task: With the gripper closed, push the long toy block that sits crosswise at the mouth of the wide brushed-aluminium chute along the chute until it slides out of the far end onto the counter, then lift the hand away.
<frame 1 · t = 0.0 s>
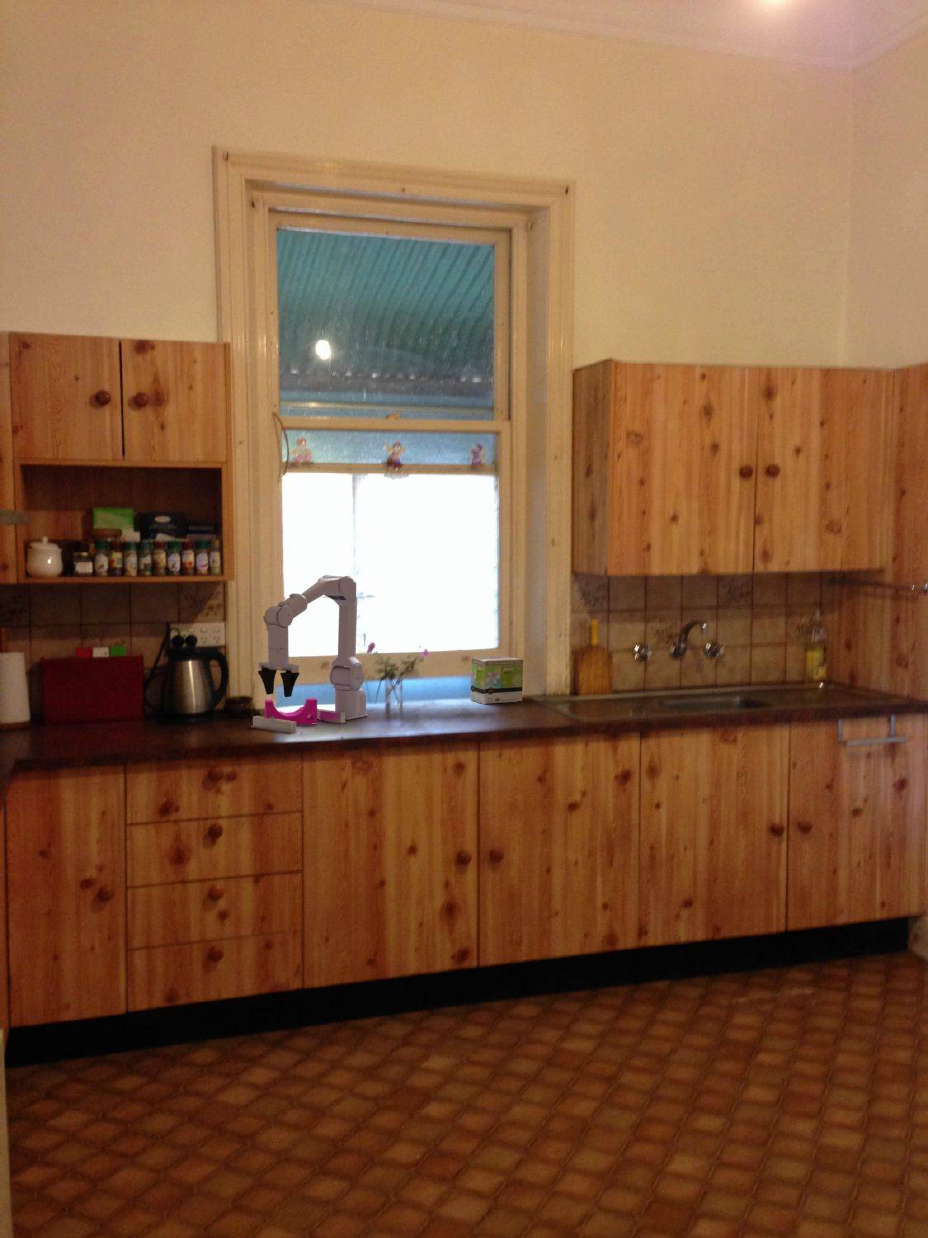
hand: (278, 695, 311), 10 cm above the countertop, tool pointing down, fingers open, 7 cm apart
toy block: (290, 724, 323), on the countertop
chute: (299, 724, 321), on the countertop
tea box: (496, 702, 367), on the countertop
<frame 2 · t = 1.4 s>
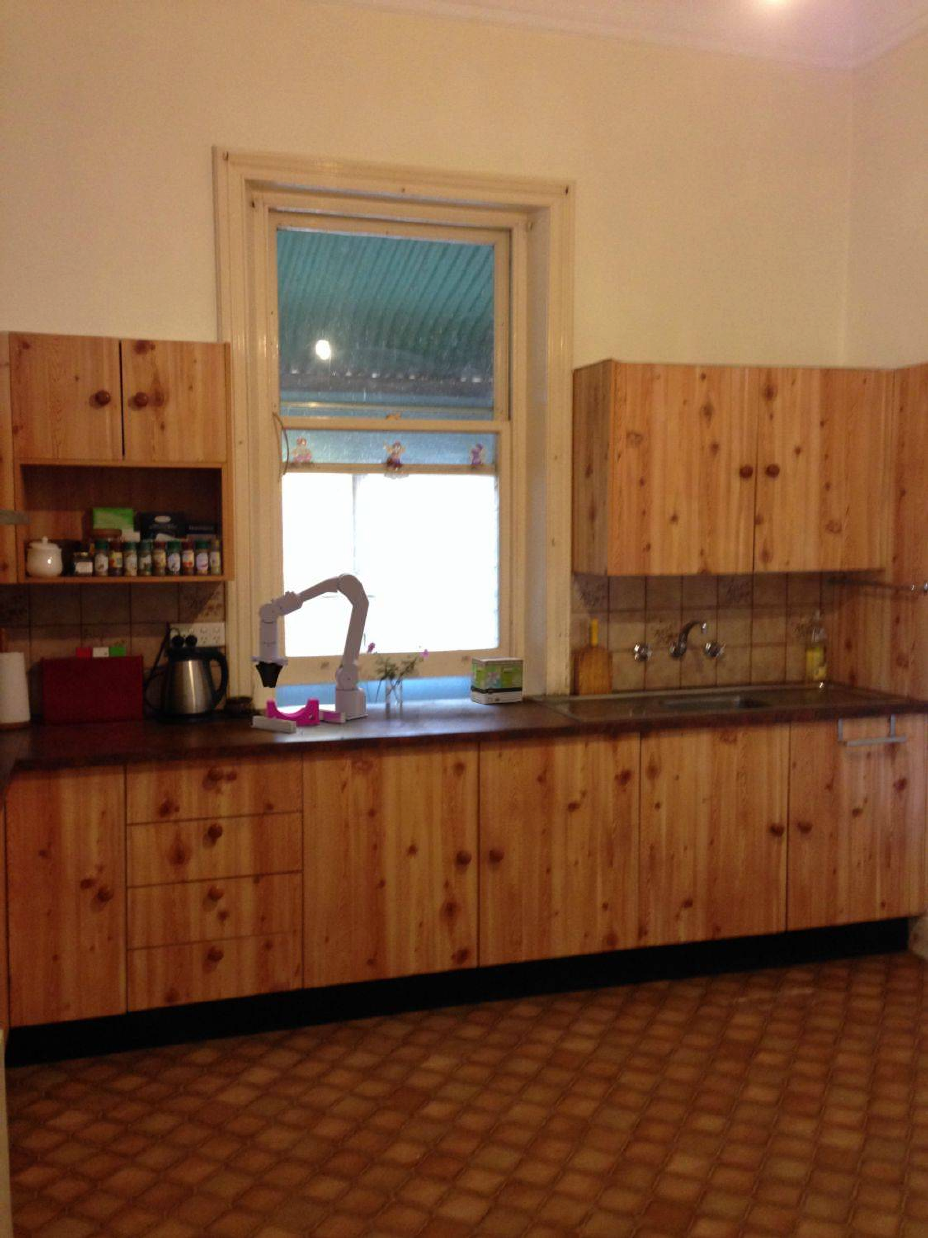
hand: (269, 687, 328), 10 cm above the countertop, tool pointing down, fingers closed
toy block: (292, 725, 322), on the countertop
everything else where it was.
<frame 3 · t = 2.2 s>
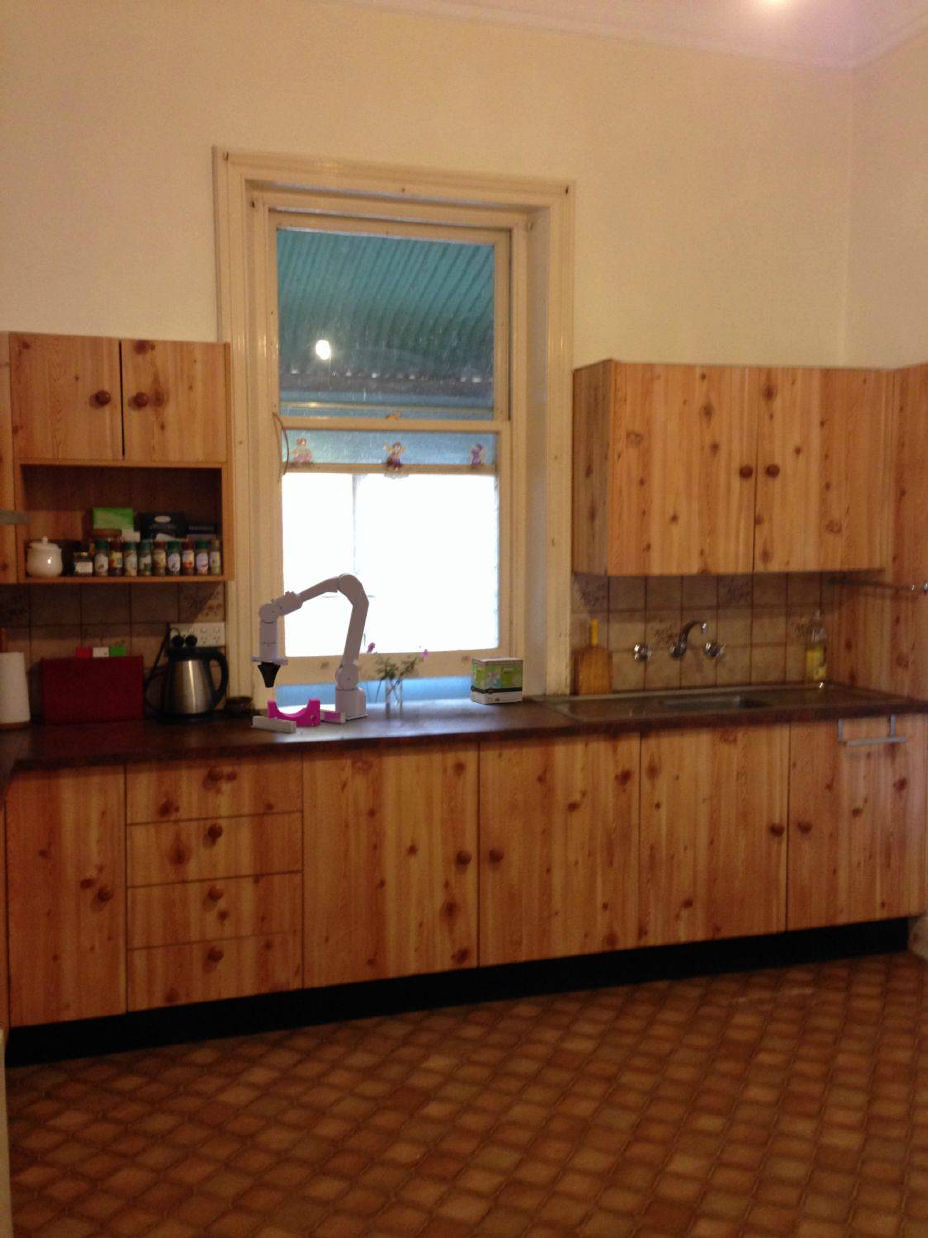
hand: (269, 687, 328), 10 cm above the countertop, tool pointing down, fingers closed
nothing on the countertop moved.
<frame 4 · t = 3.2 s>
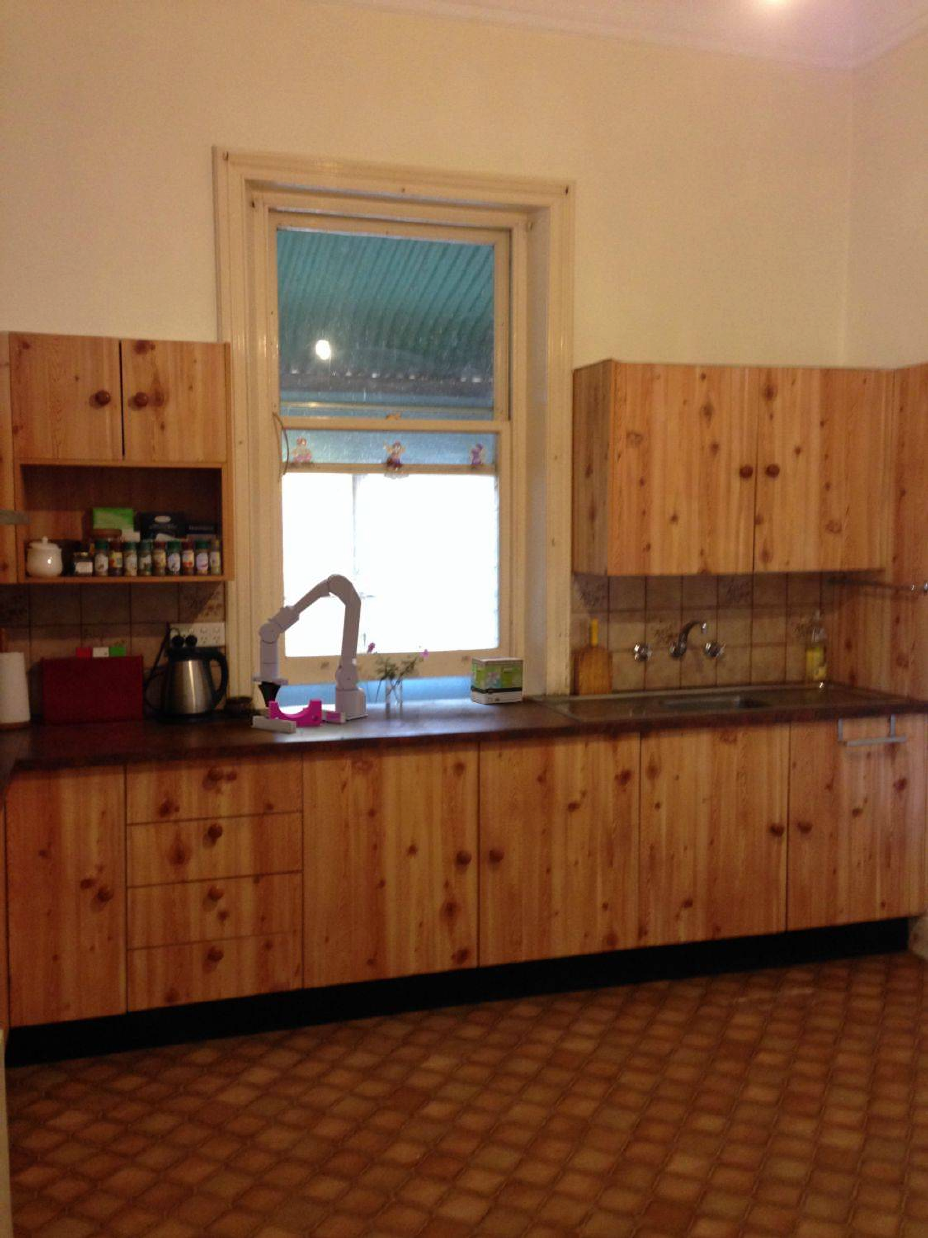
hand: (269, 707, 329), 4 cm above the countertop, tool pointing down, fingers closed
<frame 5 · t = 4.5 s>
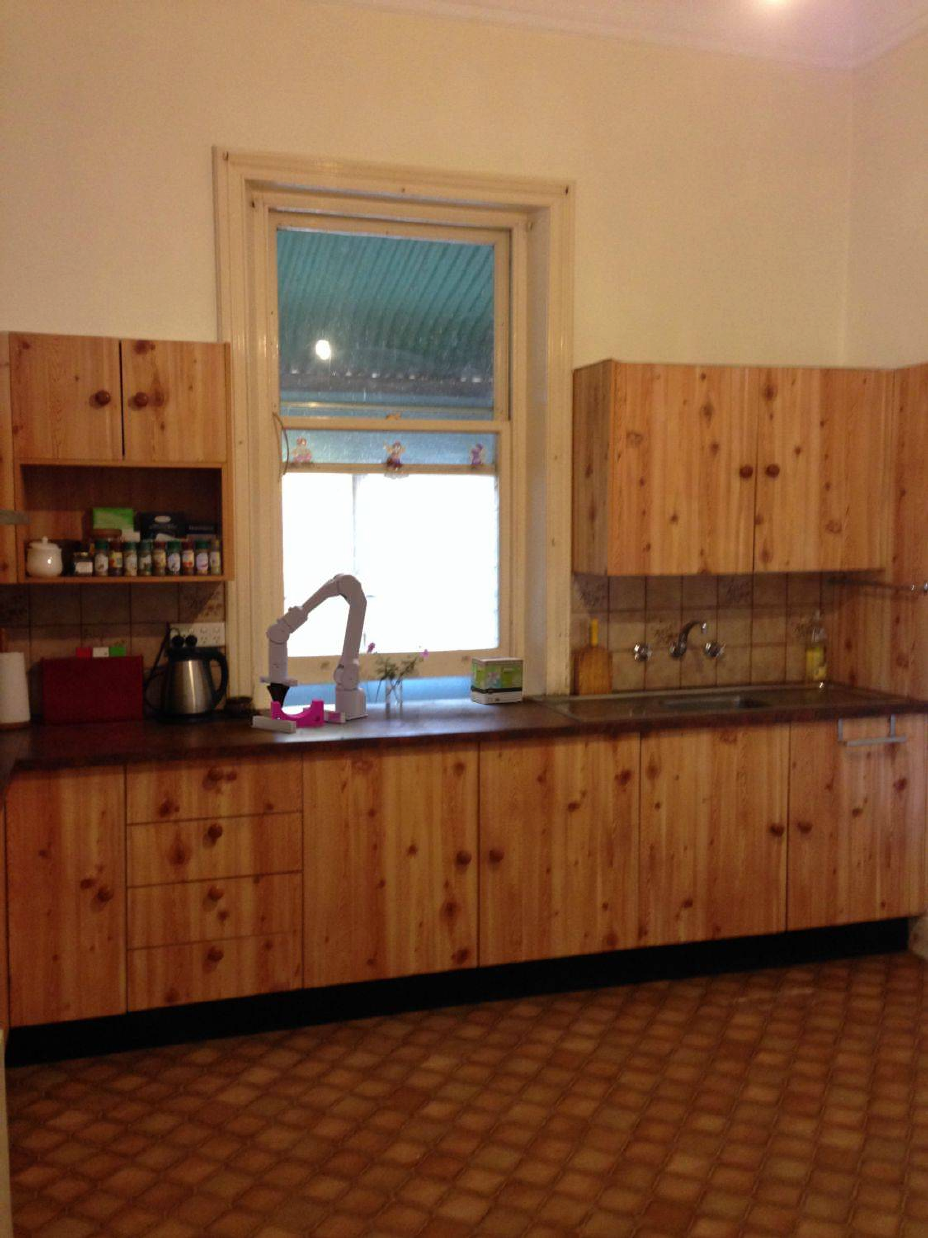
hand: (278, 708, 326), 4 cm above the countertop, tool pointing down, fingers closed
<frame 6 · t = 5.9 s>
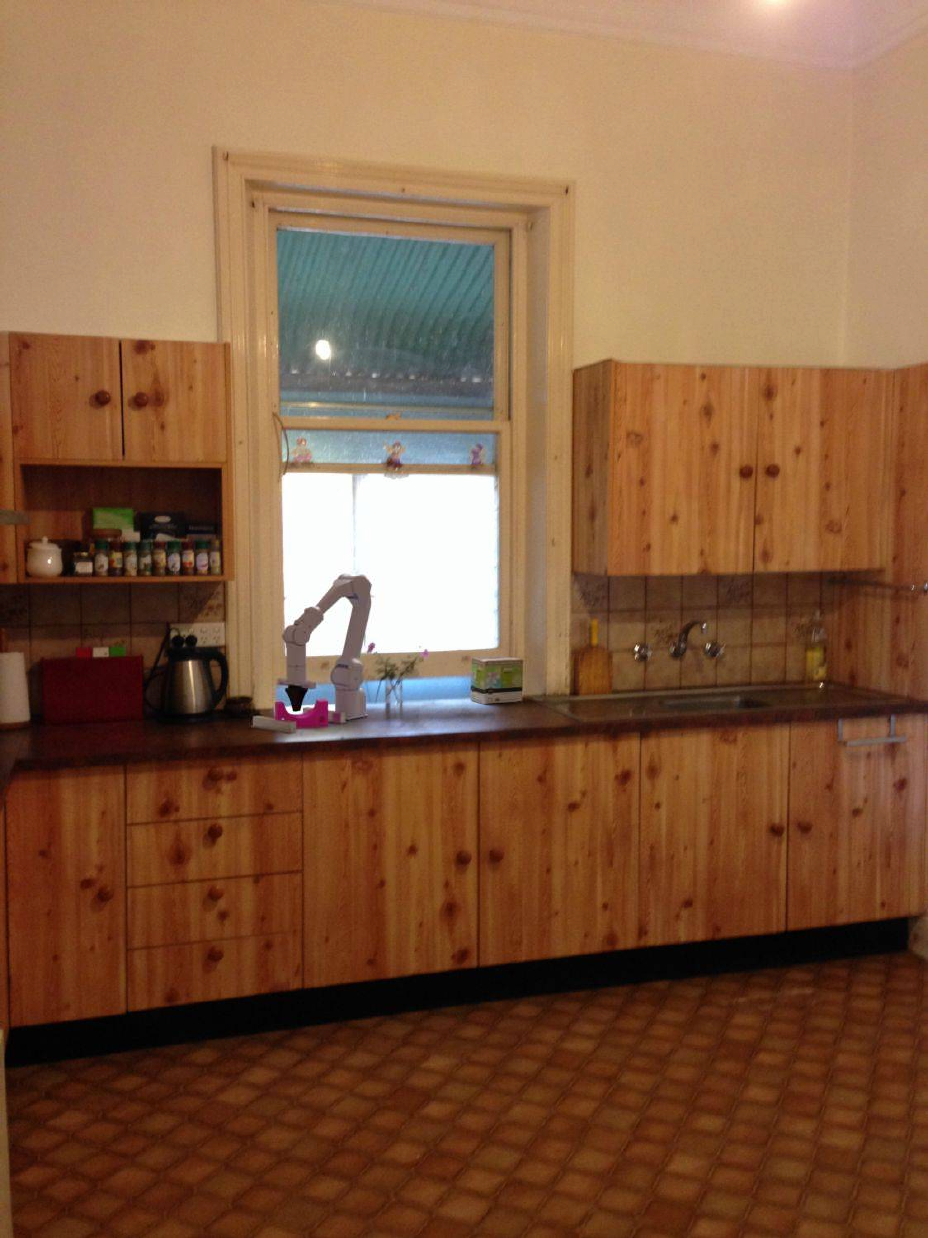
hand: (296, 711, 321), 4 cm above the countertop, tool pointing down, fingers closed
toy block: (300, 726, 319), on the countertop, touching gripper
everything else where it was.
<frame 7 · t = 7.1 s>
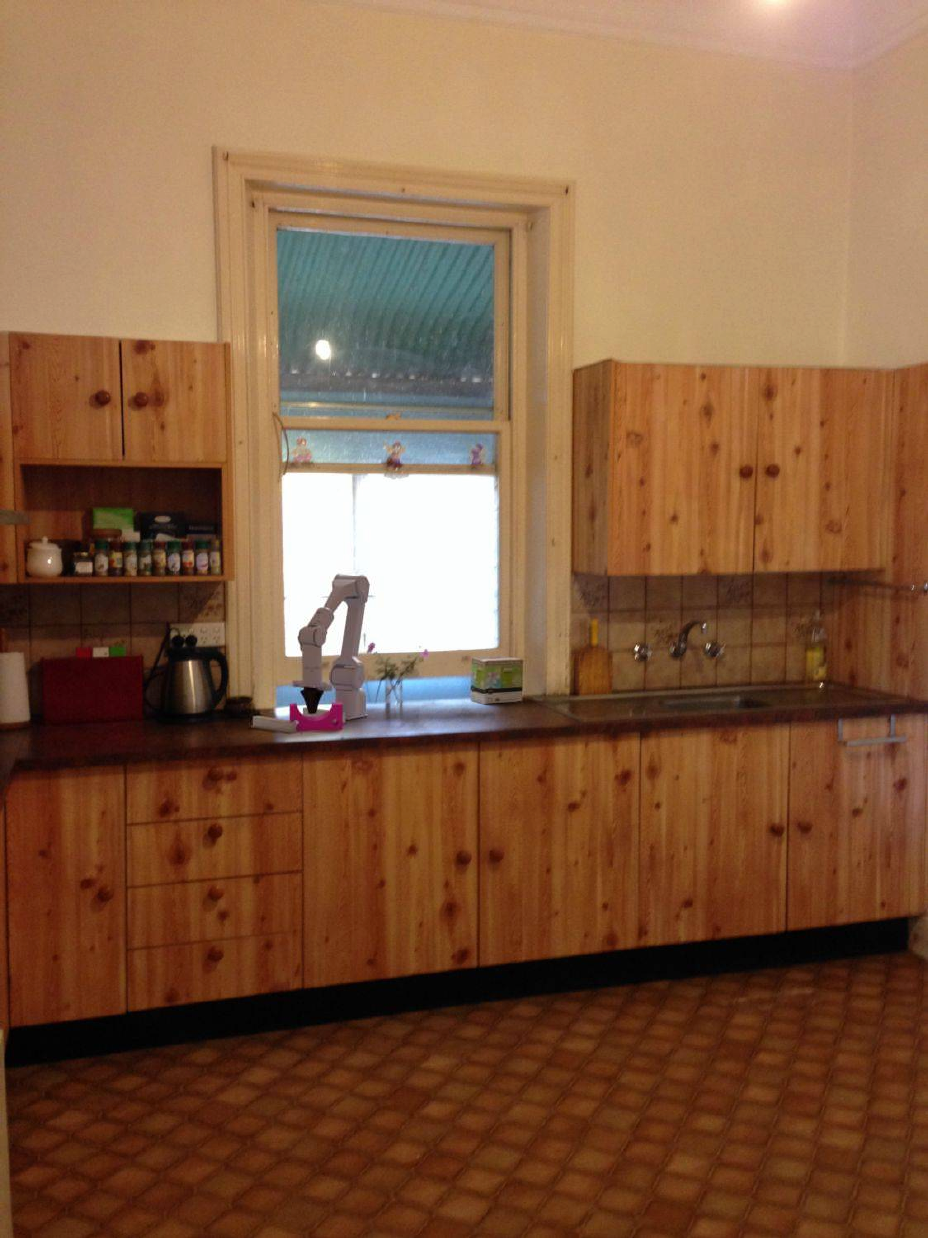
hand: (312, 713, 317), 4 cm above the countertop, tool pointing down, fingers closed
toy block: (315, 729, 315), on the countertop, touching gripper
everything else where it was.
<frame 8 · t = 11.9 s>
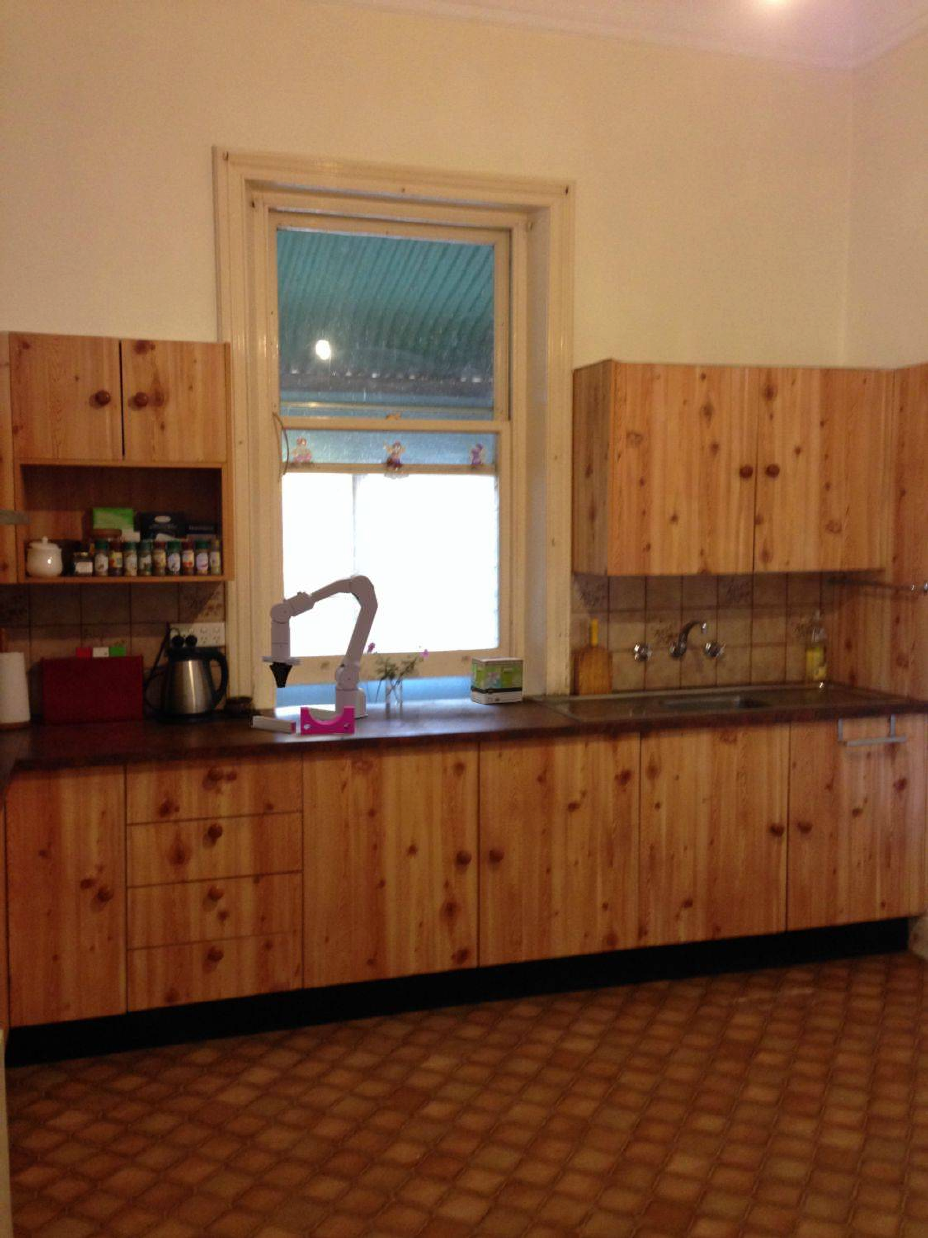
hand: (281, 687, 328), 10 cm above the countertop, tool pointing down, fingers closed
toy block: (327, 733, 310), on the countertop
everything else where it was.
at the end: toy block inside the target area (5.6 cm from its centre), on the countertop; toy block tilted 0° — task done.
